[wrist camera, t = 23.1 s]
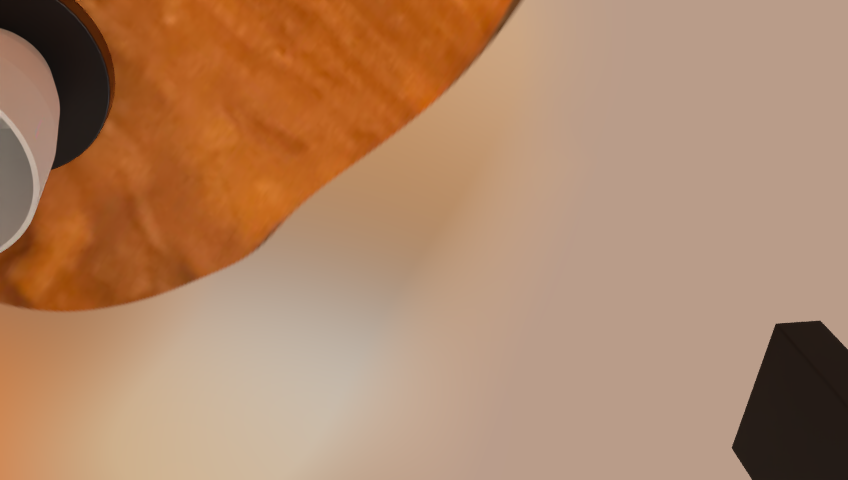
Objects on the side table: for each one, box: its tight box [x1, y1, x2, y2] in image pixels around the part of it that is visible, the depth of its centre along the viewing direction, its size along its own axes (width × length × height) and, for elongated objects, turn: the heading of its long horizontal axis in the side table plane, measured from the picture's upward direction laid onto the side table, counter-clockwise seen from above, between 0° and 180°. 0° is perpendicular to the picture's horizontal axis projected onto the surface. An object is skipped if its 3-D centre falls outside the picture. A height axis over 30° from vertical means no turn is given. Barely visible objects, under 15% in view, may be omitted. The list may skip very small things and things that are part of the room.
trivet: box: [0, 0, 115, 170], centre depth 37 cm, size 10×10×2 cm
